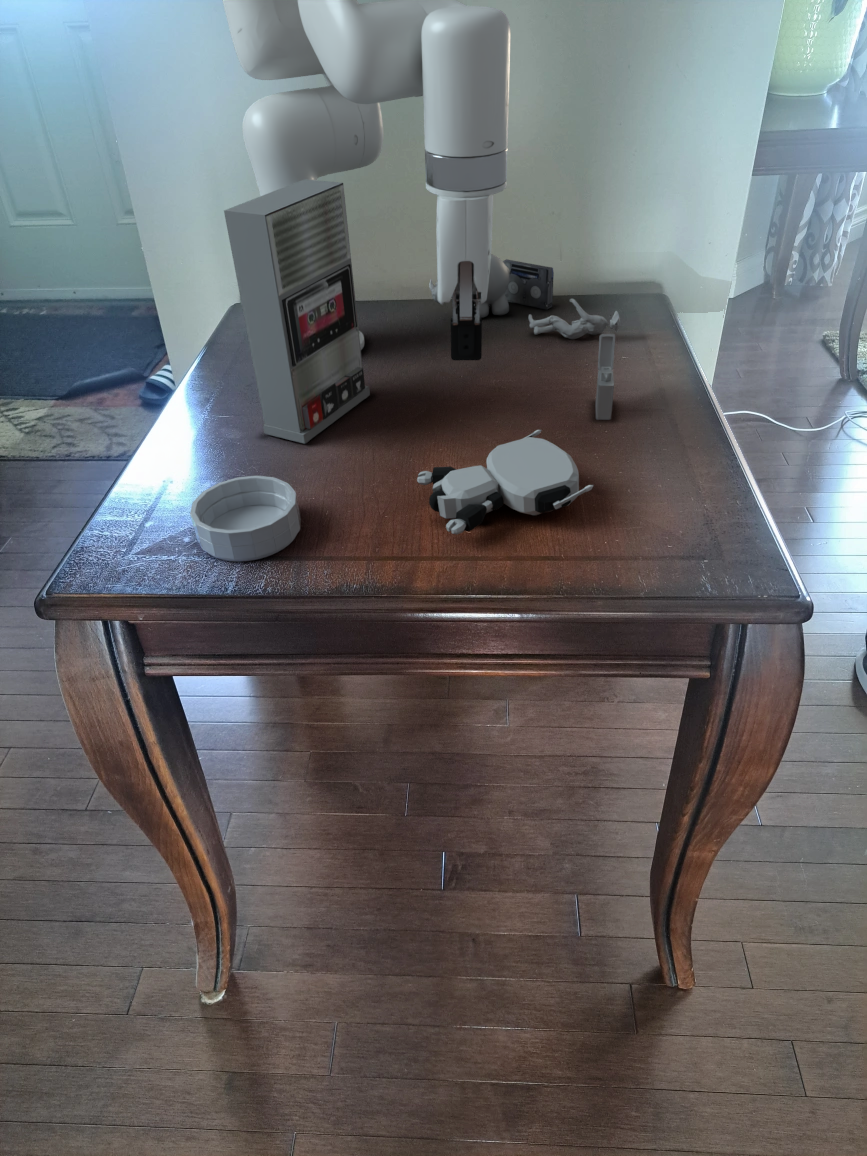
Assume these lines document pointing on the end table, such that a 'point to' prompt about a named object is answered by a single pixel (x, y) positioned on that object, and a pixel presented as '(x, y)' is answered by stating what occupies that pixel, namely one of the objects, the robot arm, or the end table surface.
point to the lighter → (605, 377)
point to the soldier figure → (575, 324)
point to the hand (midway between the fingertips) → (466, 356)
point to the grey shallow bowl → (246, 518)
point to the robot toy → (505, 483)
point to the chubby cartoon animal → (490, 289)
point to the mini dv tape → (530, 284)
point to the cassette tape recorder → (299, 305)
